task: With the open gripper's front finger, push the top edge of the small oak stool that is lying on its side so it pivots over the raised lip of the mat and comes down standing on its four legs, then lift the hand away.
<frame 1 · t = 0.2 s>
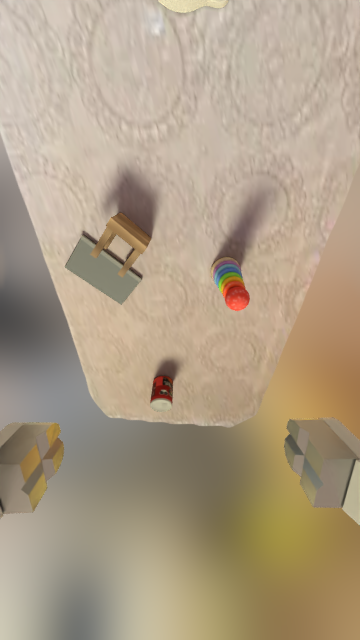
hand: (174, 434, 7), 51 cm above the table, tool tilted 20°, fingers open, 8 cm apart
stacking toy: (224, 270, 57), on the table
canned food: (163, 381, 83), on the table
mat: (104, 272, 57), on the table
stool: (133, 229, 47), point 4 cm above the table
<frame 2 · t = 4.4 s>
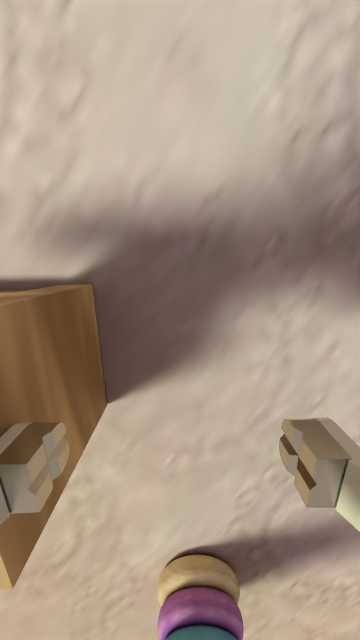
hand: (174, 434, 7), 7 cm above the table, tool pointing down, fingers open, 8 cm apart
stacking toy: (197, 572, 21), on the table
stool: (65, 387, 10), point 5 cm above the table, touching gripper
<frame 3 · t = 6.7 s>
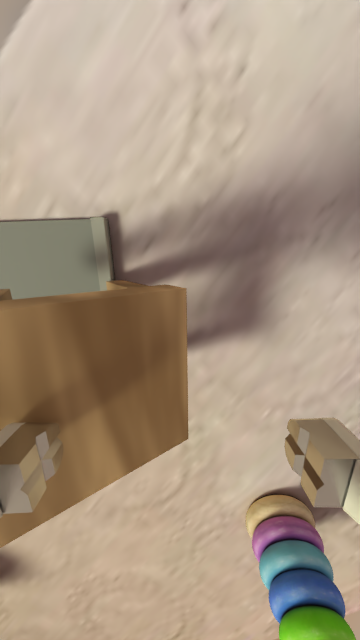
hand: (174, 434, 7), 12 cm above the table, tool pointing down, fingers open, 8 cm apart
stacking toy: (275, 511, 26), on the table
mat: (62, 326, 19), on the table
stool: (100, 405, 9), point 11 cm above the table, tilted 55°, touching gripper, mat
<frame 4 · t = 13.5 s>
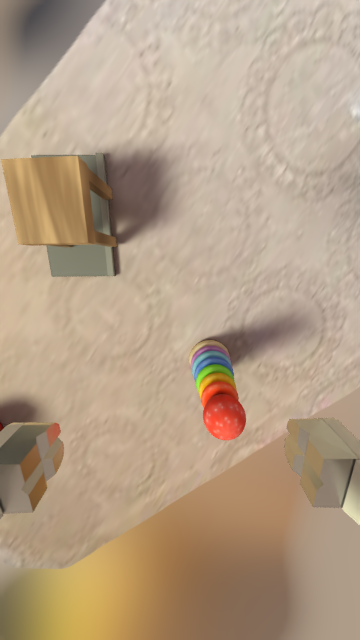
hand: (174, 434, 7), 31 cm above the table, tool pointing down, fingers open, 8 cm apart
stacking toy: (208, 356, 41), on the table
mat: (77, 220, 34), on the table
stool: (46, 202, 24), point 10 cm above the table, tilted 95°, touching mat
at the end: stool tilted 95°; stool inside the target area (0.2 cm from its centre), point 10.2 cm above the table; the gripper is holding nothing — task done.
